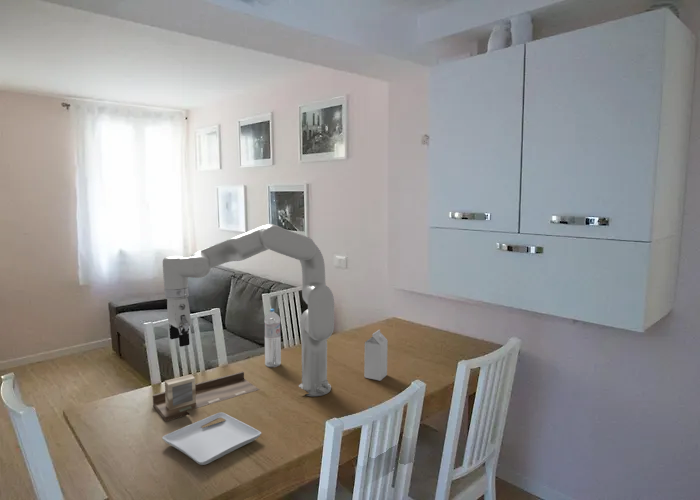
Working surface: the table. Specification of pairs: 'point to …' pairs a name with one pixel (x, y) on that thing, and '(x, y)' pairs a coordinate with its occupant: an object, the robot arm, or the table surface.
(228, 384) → the picture ledge
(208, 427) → the salad plate
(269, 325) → the water bottle
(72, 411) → the table surface
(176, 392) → the picture frame
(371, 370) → the milk carton
